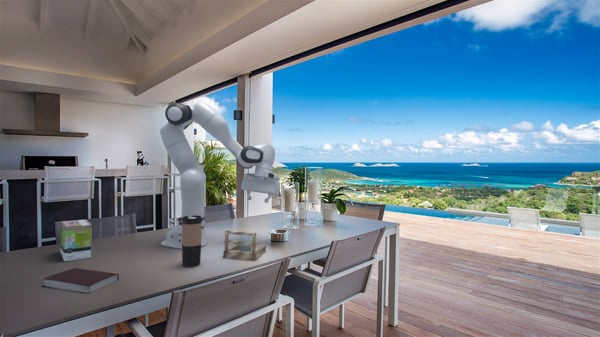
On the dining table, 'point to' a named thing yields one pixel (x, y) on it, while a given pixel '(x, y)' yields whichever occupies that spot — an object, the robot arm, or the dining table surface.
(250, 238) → the grey upright block
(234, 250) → the rack
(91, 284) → the book
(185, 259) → the travel mug
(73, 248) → the tea box
